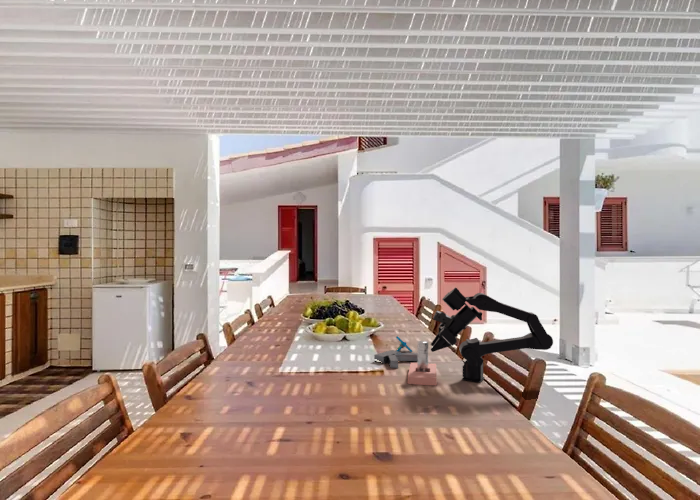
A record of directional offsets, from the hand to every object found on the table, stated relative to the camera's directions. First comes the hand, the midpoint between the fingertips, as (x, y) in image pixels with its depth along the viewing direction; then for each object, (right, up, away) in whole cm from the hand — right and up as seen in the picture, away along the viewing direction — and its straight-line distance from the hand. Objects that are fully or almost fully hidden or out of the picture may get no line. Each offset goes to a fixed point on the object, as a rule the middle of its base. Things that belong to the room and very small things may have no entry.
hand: (431, 348), depth 167 cm
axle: (-3, -11, +1) cm, 11 cm away
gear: (-5, -11, +40) cm, 42 cm away
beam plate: (-3, -11, +1) cm, 11 cm away
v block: (-11, -11, +22) cm, 27 cm away
